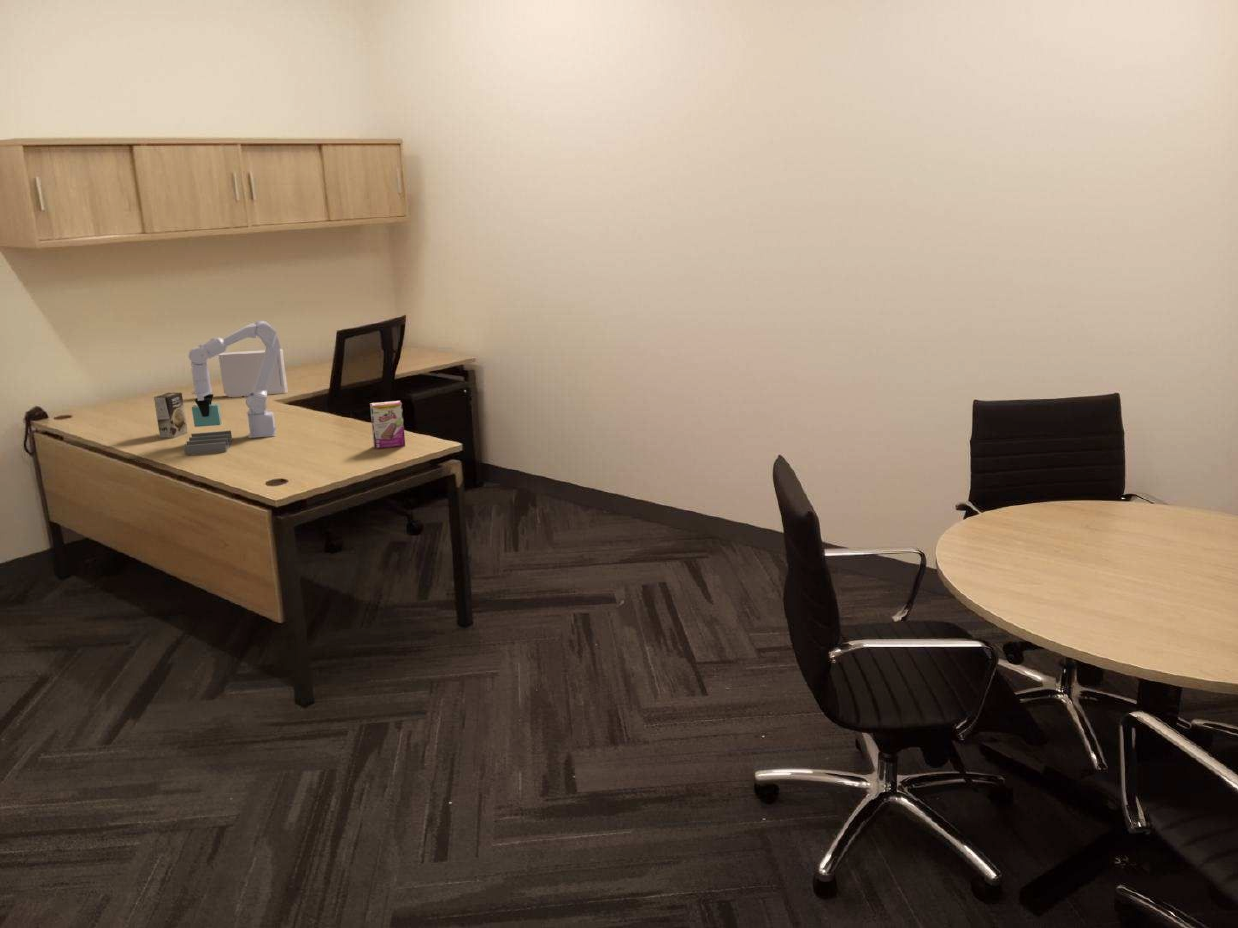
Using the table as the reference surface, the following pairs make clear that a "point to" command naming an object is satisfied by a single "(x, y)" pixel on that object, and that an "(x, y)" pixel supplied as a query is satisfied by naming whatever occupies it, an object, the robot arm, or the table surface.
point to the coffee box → (170, 415)
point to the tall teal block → (206, 421)
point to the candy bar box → (387, 424)
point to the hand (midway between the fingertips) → (206, 415)
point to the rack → (208, 442)
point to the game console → (249, 373)
